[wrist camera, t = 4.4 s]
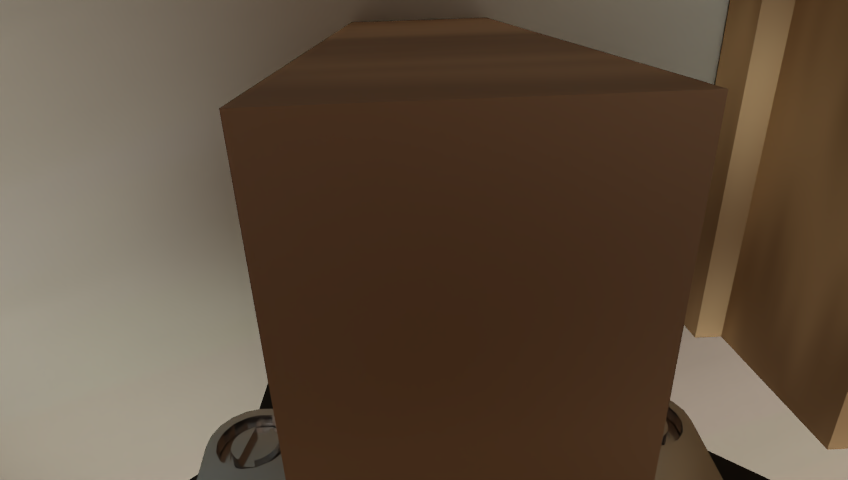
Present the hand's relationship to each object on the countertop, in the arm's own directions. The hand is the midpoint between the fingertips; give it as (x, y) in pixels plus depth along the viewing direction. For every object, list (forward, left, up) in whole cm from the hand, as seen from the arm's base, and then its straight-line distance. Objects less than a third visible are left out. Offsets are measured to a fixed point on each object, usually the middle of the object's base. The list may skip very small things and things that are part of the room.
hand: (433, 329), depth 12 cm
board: (0, 0, -3) cm, 3 cm away
